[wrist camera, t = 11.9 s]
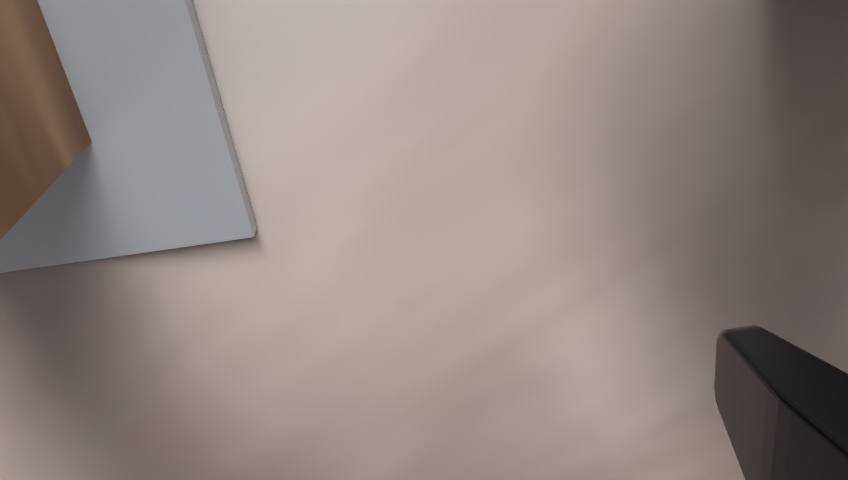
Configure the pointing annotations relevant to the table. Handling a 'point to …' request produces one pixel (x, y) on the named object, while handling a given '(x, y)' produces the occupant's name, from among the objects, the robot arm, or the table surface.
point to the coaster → (135, 141)
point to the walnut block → (33, 111)
